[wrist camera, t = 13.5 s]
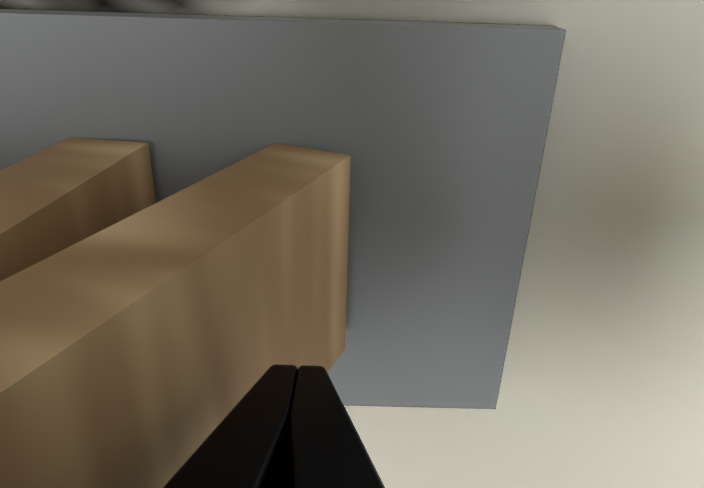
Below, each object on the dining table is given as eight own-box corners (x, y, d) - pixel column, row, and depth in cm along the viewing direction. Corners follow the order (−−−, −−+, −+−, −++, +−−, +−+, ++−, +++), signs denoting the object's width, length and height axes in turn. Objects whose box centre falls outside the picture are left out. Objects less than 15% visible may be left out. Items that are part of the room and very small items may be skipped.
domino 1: (350, 155, 12) (-267, 575, 4) (344, 349, 14) (-51, 873, 6) (275, 142, 13) (-393, 478, 4) (281, 330, 15) (-154, 782, 7)
